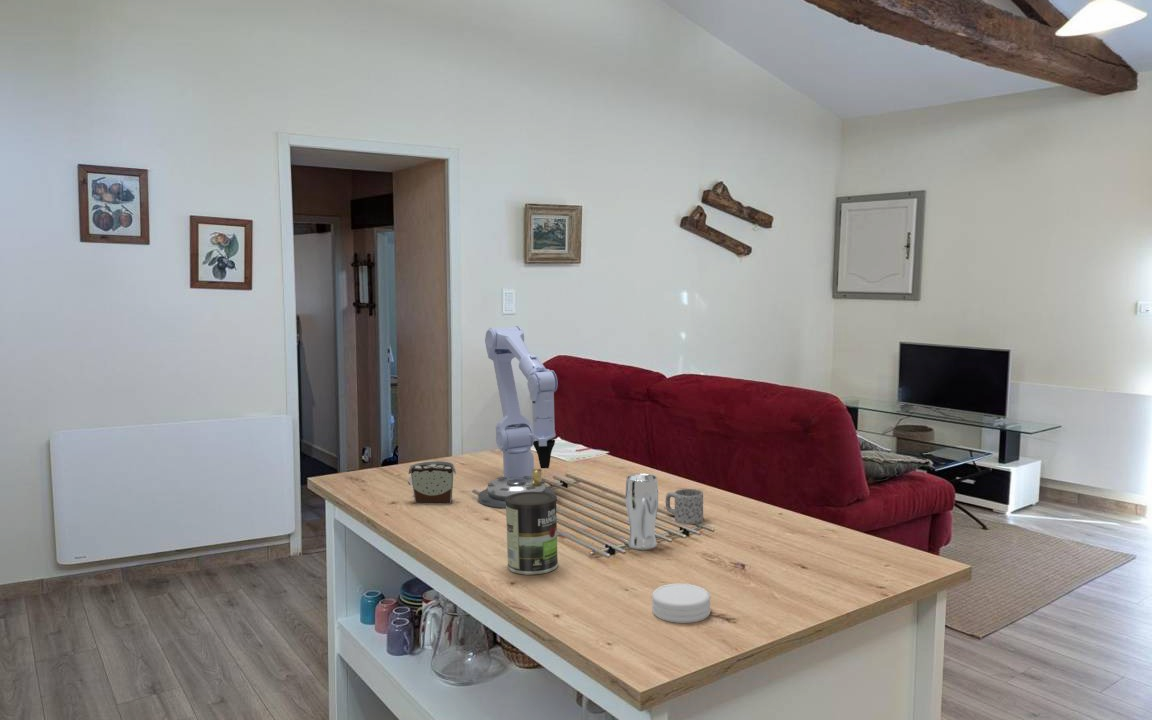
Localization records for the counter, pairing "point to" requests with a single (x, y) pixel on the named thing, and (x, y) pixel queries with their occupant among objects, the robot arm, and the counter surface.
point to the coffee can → (531, 532)
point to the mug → (686, 506)
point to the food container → (432, 482)
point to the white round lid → (681, 603)
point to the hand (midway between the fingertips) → (544, 467)
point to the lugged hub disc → (516, 485)
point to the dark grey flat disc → (497, 503)
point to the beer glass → (642, 510)
